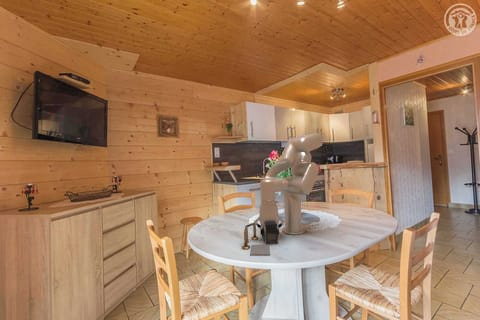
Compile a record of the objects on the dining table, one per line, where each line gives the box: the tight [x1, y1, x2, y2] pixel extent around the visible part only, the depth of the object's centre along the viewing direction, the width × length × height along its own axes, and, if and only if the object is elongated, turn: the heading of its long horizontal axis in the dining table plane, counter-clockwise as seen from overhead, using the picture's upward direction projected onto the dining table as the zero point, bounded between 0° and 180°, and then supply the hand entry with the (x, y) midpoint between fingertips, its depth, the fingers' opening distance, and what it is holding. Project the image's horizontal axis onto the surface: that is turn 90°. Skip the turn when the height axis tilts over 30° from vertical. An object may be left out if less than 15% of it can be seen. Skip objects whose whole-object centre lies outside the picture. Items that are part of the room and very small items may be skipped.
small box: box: [262, 222, 279, 245], centre depth 120 cm, size 11×6×10 cm, turn 4°
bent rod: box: [241, 222, 260, 251], centre depth 118 cm, size 5×17×9 cm, turn 156°
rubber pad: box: [249, 244, 271, 257], centre depth 108 cm, size 9×11×1 cm
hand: (269, 236), depth 120 cm, fingers closed on small box, 6 cm apart
